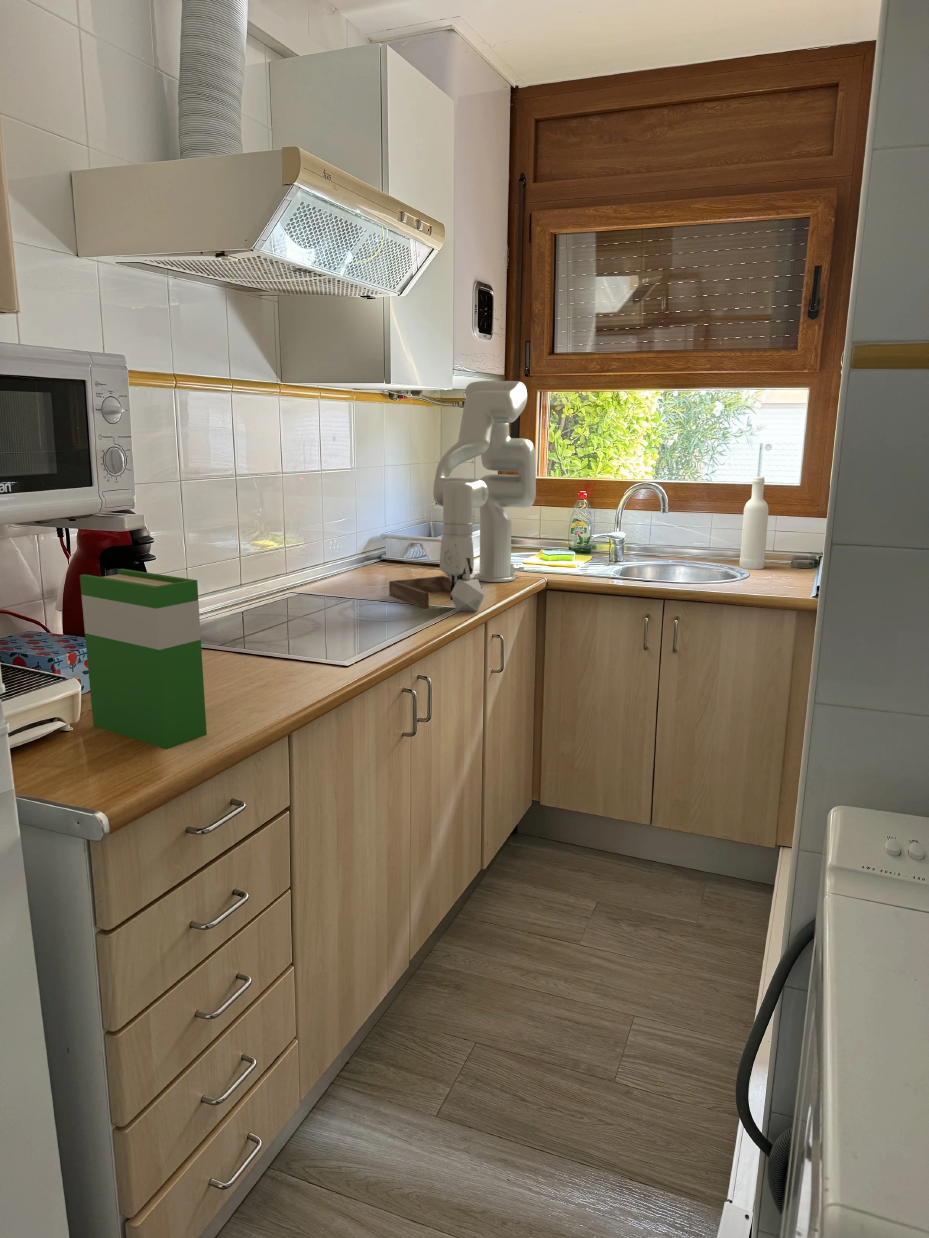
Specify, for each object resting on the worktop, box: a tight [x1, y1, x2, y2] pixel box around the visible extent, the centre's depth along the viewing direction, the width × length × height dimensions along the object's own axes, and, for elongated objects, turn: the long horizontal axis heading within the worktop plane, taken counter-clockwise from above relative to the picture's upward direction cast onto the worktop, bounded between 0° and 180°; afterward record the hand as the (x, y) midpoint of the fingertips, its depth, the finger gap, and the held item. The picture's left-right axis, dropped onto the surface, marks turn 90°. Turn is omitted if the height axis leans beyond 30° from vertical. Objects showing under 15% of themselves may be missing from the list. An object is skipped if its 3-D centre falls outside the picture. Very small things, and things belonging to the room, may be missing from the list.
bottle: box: [739, 476, 769, 570], centre depth 290 cm, size 8×8×30 cm
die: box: [450, 578, 485, 613], centre depth 223 cm, size 8×9×10 cm
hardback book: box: [79, 568, 208, 750], centre depth 133 cm, size 18×7×24 cm, turn 56°
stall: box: [388, 575, 483, 609], centre depth 238 cm, size 17×20×4 cm
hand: (457, 600), depth 228 cm, fingers closed
